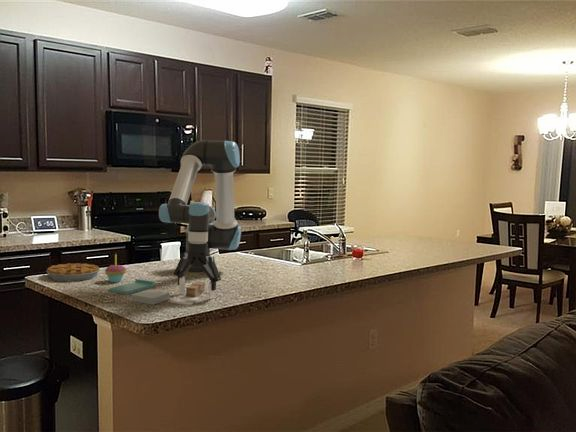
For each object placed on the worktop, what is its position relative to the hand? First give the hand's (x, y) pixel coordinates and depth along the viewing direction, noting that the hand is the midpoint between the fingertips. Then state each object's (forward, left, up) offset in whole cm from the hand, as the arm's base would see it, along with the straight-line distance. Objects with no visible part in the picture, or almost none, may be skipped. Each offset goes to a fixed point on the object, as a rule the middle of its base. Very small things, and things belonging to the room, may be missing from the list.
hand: (196, 296), depth 206 cm
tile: (+9, -11, +1) cm, 14 cm away
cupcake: (-3, -43, 0) cm, 43 cm away
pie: (0, -64, -1) cm, 64 cm away
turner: (+2, -1, 0) cm, 2 cm away
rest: (+4, -28, 0) cm, 28 cm away
